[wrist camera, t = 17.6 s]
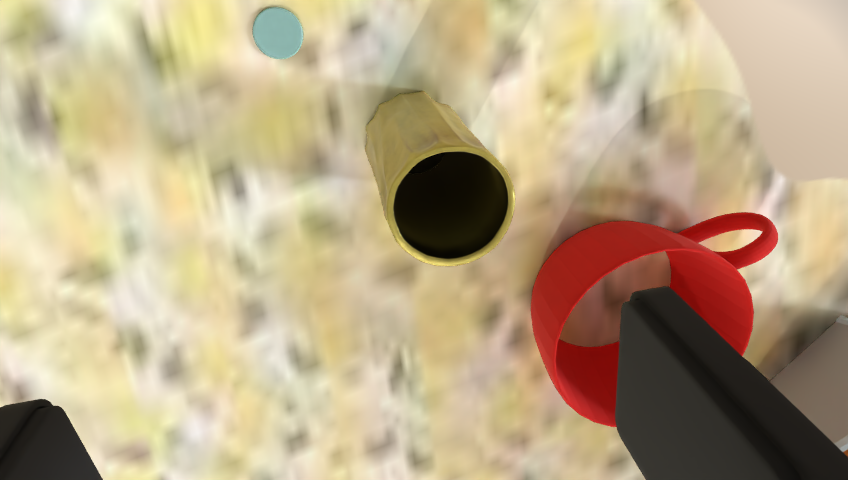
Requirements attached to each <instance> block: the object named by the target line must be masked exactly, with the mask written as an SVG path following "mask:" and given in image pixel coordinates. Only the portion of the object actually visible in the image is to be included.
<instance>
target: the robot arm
mask: <svg viewBox="0 0 848 480" xmlns="http://www.w3.org/2000/svg"><path fill="white" fill-rule="evenodd" d="M615 422H616V426H617V430H618V433H619V435H620V437H621V439H622V441H623V442H624V444H625V446H626V447H627V449H628V451H629V452H630V454H631V456H632V457H633V459H634V461H635V462H636V464H637V466H638V467H639V469H640V471H641V472H642V474H643V476H644V477H645V479H646V480H848V456H847V455H845V454H844V453H843V452H842V451H841V450H840V449H839V448H838V447H837V446H836V445H835V444H834V443H833V442H832V441H831V440H830V439H829V438H828V437H827V436H826V435H825V434H824V433H823V432H822V431H820V430H819V429H818V428H817V427H816V426H815V425H814V424H813V423H812V422H811V421H810V420H809V419H808V418H807V417H806V416H805V415H804V414H803V413H802V412H801V411H800V410H799V409H798V408H797V407H795V406H794V405H793V404H792V403H791V402H790V401H789V400H788V399H787V398H786V397H785V396H784V395H783V394H782V393H781V392H780V391H779V390H778V389H777V388H776V387H775V386H774V385H773V384H772V383H770V382H769V381H768V380H767V379H766V378H765V377H764V376H763V375H762V374H761V373H760V372H759V371H758V370H757V369H756V368H755V367H754V366H753V365H752V364H751V363H750V362H748V361H747V360H746V359H744V358H743V357H742V356H741V355H740V354H739V353H738V352H737V351H736V350H735V349H734V348H733V347H732V346H731V345H730V344H729V343H728V342H727V341H726V340H725V339H723V338H722V337H721V336H720V335H719V334H718V333H717V332H716V331H715V330H714V329H713V328H712V327H711V326H710V325H709V324H708V323H707V322H706V321H705V320H704V319H703V318H702V317H701V316H700V315H699V314H698V313H696V312H695V311H694V310H693V309H692V308H691V307H690V306H689V305H688V304H687V303H686V302H685V301H684V300H683V299H682V298H681V297H680V296H679V295H678V294H677V293H676V292H675V291H674V290H672V289H671V288H670V287H666V286H664V287H659V288H653V289H647V290H642V291H636V292H634V293H632V295H631V297H630V301H629V302H625V303H623V305H622V309H621V324H620V341H619V357H618V374H617V391H616V408H615ZM0 480H103V479H102V477H101V476H100V474H99V472H98V470H97V468H96V467H95V465H94V463H93V461H92V460H91V458H90V456H89V454H88V452H87V451H86V449H85V447H84V445H83V443H82V442H81V440H80V438H79V436H78V434H77V433H76V431H75V429H74V427H73V426H72V424H71V422H70V420H69V418H68V417H67V415H66V413H65V411H64V410H63V409H62V408H61V407H59V406H53V405H52V404H51V402H49V401H47V400H46V399H38V400H33V401H27V402H21V403H16V404H10V405H5V406H3V407H1V408H0Z"/></svg>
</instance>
